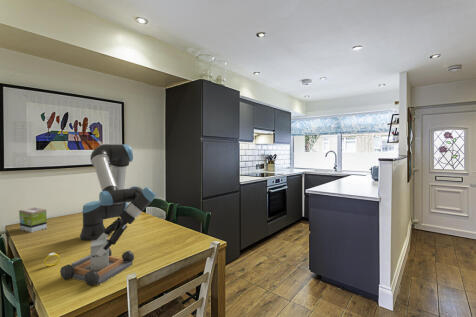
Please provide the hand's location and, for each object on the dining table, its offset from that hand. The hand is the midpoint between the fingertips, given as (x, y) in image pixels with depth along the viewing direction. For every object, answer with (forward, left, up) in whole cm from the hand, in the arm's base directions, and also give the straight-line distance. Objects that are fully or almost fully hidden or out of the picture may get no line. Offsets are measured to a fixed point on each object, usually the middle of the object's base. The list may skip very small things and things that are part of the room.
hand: (96, 249), depth 111 cm
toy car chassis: (0, +1, -10) cm, 10 cm away
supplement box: (+1, +1, -9) cm, 9 cm away
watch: (-27, -3, -11) cm, 29 cm away
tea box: (-97, +29, -11) cm, 102 cm away
